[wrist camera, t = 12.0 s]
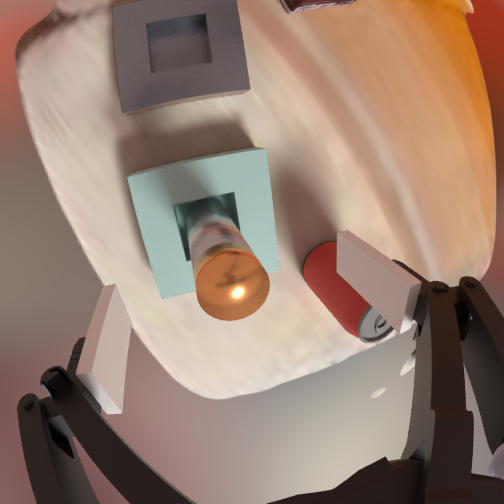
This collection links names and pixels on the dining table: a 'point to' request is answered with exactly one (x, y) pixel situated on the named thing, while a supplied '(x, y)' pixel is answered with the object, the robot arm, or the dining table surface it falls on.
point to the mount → (177, 52)
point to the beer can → (343, 296)
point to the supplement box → (312, 4)
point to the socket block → (197, 187)
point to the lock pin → (223, 263)
